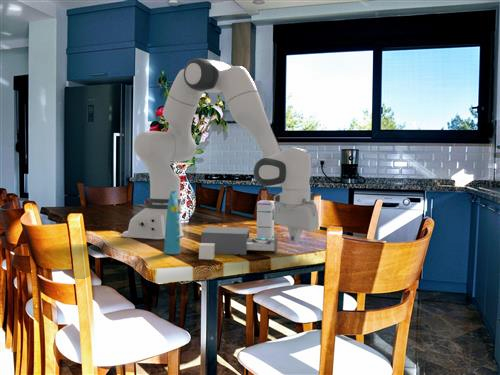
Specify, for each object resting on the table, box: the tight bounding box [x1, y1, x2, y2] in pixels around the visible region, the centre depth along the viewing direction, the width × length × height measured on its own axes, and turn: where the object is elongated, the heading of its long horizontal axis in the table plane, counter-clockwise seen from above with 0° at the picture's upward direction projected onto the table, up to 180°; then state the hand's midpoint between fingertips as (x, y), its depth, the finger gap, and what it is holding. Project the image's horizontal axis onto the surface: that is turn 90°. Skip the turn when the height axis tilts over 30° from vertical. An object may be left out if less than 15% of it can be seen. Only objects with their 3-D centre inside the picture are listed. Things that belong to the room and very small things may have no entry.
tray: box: [246, 233, 279, 252], centre depth 146 cm, size 13×11×4 cm
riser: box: [198, 242, 216, 260], centre depth 133 cm, size 4×4×4 cm
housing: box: [200, 226, 250, 256], centre depth 147 cm, size 14×14×6 cm
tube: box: [163, 190, 181, 255], centre depth 138 cm, size 7×5×19 cm, turn 3°
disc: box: [252, 237, 271, 244], centre depth 146 cm, size 6×6×2 cm
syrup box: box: [256, 200, 275, 239], centre depth 170 cm, size 6×6×14 cm
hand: (294, 241), depth 145 cm, fingers closed
